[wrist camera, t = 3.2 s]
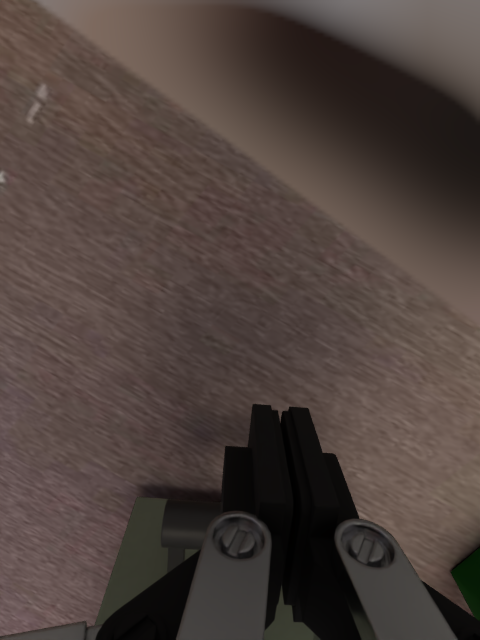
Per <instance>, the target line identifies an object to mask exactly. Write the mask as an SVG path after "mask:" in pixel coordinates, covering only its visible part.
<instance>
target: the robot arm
mask: <svg viewBox="0 0 480 640" xmlns="http://www.w3.org/2000/svg"><path fill="white" fill-rule="evenodd" d="M281 585H282V592H283V601H284V604H285V605H291V606H292V614H293V621H294V622H302V623H304V624H305V625H306V626H307V627H308V628H309V629H310V630H311V631H312V632H313V633H314V637H313V640H480V621H479V620H477V619H476V618H474V617H473V616H472V615H470V614H469V613H467V612H466V611H464V610H463V609H462V608H460V607H459V606H457V605H456V604H454V603H453V602H452V601H450V600H449V599H447V598H446V597H445V596H443V595H442V594H440V593H439V592H437V591H436V590H435V589H433V588H432V587H430V586H429V585H427V584H426V583H425V582H423V581H422V580H421V579H420V578H419V576H418V575H417V573H416V571H415V570H414V568H413V567H412V565H411V563H410V562H409V560H408V559H407V557H406V555H405V554H404V552H403V550H402V549H401V547H400V546H399V544H398V542H397V541H396V540H395V539H394V537H393V536H392V535H391V534H390V533H389V532H388V531H386V530H385V529H384V528H383V527H381V526H379V525H377V524H375V523H373V522H370V521H367V520H364V519H359V516H358V513H357V511H356V508H355V505H354V502H353V500H352V497H351V494H350V492H349V489H348V486H347V483H346V481H345V478H344V475H343V473H342V470H341V467H340V464H339V462H338V459H337V457H336V455H335V454H332V453H323V452H322V449H321V446H320V443H319V440H318V437H317V434H316V431H315V427H314V424H313V421H312V418H311V415H310V412H309V409H308V408H301V407H289V410H288V411H283V412H282V415H281V423H280V420H279V415H278V411H277V410H272V408H271V405H261V404H253V406H252V414H251V423H250V432H249V441H248V447H235V446H225V455H224V467H223V479H222V493H221V510H220V515H218V516H216V517H215V518H214V519H213V520H212V521H211V522H210V524H209V526H208V528H207V530H206V534H205V538H204V541H203V545H202V548H201V549H200V550H199V551H197V552H196V553H194V554H193V555H192V556H190V557H189V558H188V559H186V560H185V561H183V562H182V563H181V564H179V565H178V566H177V567H175V568H174V569H173V570H171V571H170V572H168V573H167V574H166V575H164V576H163V577H162V578H160V579H159V580H158V581H156V582H155V583H153V584H152V585H151V586H149V587H148V588H147V589H145V590H144V591H142V592H141V593H140V594H138V595H137V596H136V597H134V598H133V599H132V600H130V601H129V602H127V603H126V604H125V605H123V606H122V607H121V608H119V609H118V610H117V611H115V612H114V613H113V614H112V615H111V616H110V617H109V618H108V619H107V620H106V621H105V622H104V623H103V624H101V625H95V626H90V627H87V623H86V621H83V622H77V623H72V624H66V625H61V626H55V627H50V628H44V629H39V630H33V631H28V632H22V633H17V634H11V635H6V636H0V640H264V632H265V630H266V629H267V628H268V627H269V626H270V625H271V624H272V622H273V621H274V620H275V614H276V608H277V605H278V603H279V598H280V591H281Z"/></svg>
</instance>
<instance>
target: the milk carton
mask: <svg viewBox="0 0 480 640" xmlns="http://www.w3.org/2000/svg"><path fill="white" fill-rule="evenodd" d="M451 574H452V576H453V578H454V580H455V581H456V583H457V585H458V587H459V589H460V591H461V593H462V594H463V596H464V598H465V600H466V602H467V604H468V606H469V608H470V610H471V611H472V613H473V615H474V617H475V618H476V619H477V620H479V621H480V548H479V549H477V550H476V551H475V552H474V553H473V554H471V555H470V556H469V557H468V558H467V559H465V560H464V561H463V562H462V563H461V564H459V565H458V566H457V567H456V568H455V569H453V570H452V571H451Z"/></svg>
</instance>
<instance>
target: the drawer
mask: <svg viewBox="0 0 480 640" xmlns="http://www.w3.org/2000/svg"><path fill="white" fill-rule="evenodd" d="M220 510H221V502H209V501H194V500H180V499H163V498H148V497H137V498H136V501H135V504H134V507H133V510H132V513H131V516H130V519H129V522H128V525H127V528H126V531H125V534H124V537H123V540H122V544H121V547H120V550H119V553H118V556H117V559H116V562H115V565H114V568H113V571H112V574H111V577H110V580H109V583H108V586H107V589H106V592H105V595H104V598H103V601H102V604H101V607H100V610H99V613H98V616H97V619H96V622H95V625H101V624H103V623H104V622H105V621H106V620H107V619H108V618H109V617H110V616H111V615H112V614H113V613H114V612H115V611H117V610H118V609H119V608H121V607H122V606H123V605H125V604H126V603H127V602H129V601H130V600H132V599H133V598H134V597H136V596H137V595H138V594H140V593H141V592H142V591H144V590H145V589H147V588H148V587H149V586H151V585H152V584H153V583H155V582H156V581H158V580H159V579H160V578H162V577H163V576H164V575H166V574H167V573H168V572H170V571H171V570H173V569H174V568H175V567H177V566H178V565H179V564H181V563H182V562H183V561H185V560H186V559H188V558H189V557H190V556H192V555H193V554H194V553H196V552H197V551H199V550H200V549H201V548H202V545H203V541H204V538H205V534H206V530H207V528H208V526H209V524H210V522H211V521H212V520H213V519H214V518H215V517H216V516H218V515H220ZM95 625H94V626H95ZM313 637H314V633H313V632H312V631H311V630H310V629H309V628H308V627H307V626H306V625H305V624H304V623H302V622H294V621H293V614H292V606H291V605H285V604H284V601H283V592H282V585H281V591H280V598H279V603H278V605H277V608H276V614H275V620H274V621H273V622H272V624H271V625H270V626H269V627H268V628H267V629H266V630H265V632H264V640H313Z"/></svg>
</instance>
